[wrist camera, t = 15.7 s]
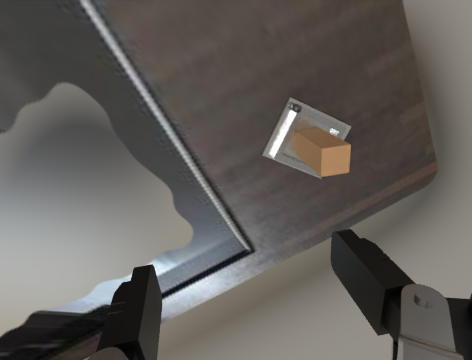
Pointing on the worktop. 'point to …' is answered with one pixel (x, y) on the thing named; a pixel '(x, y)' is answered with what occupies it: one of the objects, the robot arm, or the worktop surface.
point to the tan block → (322, 151)
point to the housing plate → (299, 119)
